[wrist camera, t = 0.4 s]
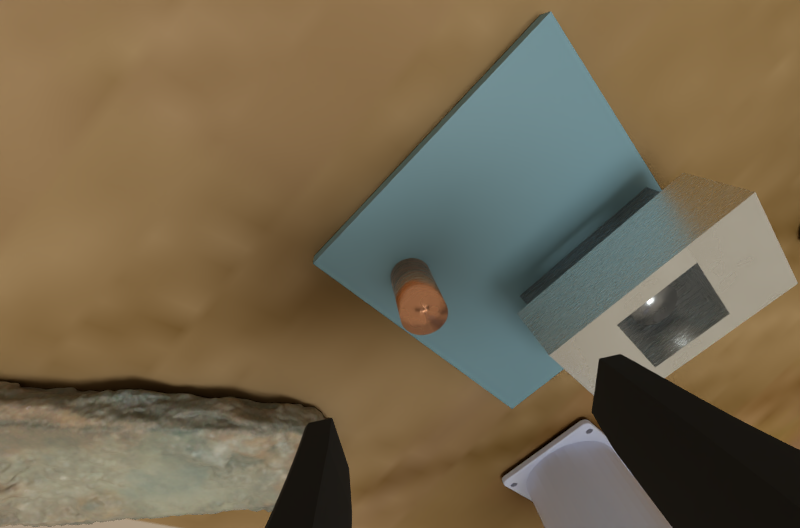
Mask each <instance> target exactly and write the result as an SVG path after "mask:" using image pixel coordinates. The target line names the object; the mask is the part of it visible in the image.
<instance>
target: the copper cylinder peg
mask: <svg viewBox="0 0 800 528" xmlns="http://www.w3.org/2000/svg"><path fill="white" fill-rule="evenodd" d="M390 280H391V284H392V288H393V292H394V296H395V300H396V304H397V308H398V312H399V316H400V319H401V323H402V325H403V327H404V328H405V329H406V330H407V331H408V332H410V333H412V334H416V335H427V334H431V333H433V332H435V331H437V330H438V329H440V328H441V327H442V326H443V325H444V323H445V322H446V320H447V317H448V308H447V305H446V303H445V301H444V299H443V297H442V295H441V292H440V290H439V288H438V286H437V284H436V282H435V280H434V278H433V276H432V273H431V271H430V269H429V267H428V266H427V264H426V263H425V262H423V261H422V260H420V259H416V258H408V259H404V260H402V261H400V262H399V263H397V264H396V265H395V266H394V268H393V269H392V271H391V275H390Z"/></svg>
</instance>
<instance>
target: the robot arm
mask: <svg viewBox="0 0 800 528" xmlns="http://www.w3.org/2000/svg"><path fill="white" fill-rule="evenodd" d="M592 413H593V415H594V417H595V419H596V420H597V422H598V424H599V426H600V427H601V429H602V431H603V432H602V431H601V430H600V429H598V428H597V427H596V426H595V425H594V424H592V423H591V422H590V421H589V420H585V419H584V420H581V421H579V422H578V423H576V424H575V425H574V426H572V427H571V428H569V429H568V430H567V431H565V432H564V433H563V434H561V435H560V436H558V437H557V438H556V439H554V440H553V441H551V442H550V443H549V444H547V445H546V446H545V447H543V448H542V449H540V450H539V451H538V452H536V453H535V454H534V455H532V456H531V457H529V458H528V459H527V460H525V461H524V462H522V463H521V464H520V465H518V466H517V467H516V468H514V469H513V470H511V471H510V472H509V473H507V474H506V475H505V476H503V478H502V481H503V484H504V485H505V486H506V487H508V488H510V489H512V490H513V491H515V492H517V493H519V494H520V495H522V496H524V497H526V498H527V499H529V500H531V501H532V502H533V503H534V505H535V507H536V510H537V512H538V514H539V516H540V518H541V521H542V523H543V525H544V527H545V528H800V450H799V449H796V448H794V447H792V446H790V445H788V444H786V443H784V442H782V441H780V440H778V439H776V438H774V437H772V436H770V435H768V434H766V433H764V432H762V431H760V430H758V429H756V428H754V427H752V426H750V425H748V424H747V423H745V422H743V421H741V420H739V419H737V418H735V417H733V416H731V415H729V414H728V413H726V412H724V411H722V410H720V409H718V408H717V407H715V406H713V405H711V404H709V403H707V402H706V401H704V400H702V399H700V398H698V397H697V396H695V395H693V394H691V393H689V392H688V391H686V390H684V389H682V388H681V387H679V386H677V385H675V384H673V383H672V382H670V381H668V380H666V379H665V378H663V377H661V376H659V375H658V374H656V373H654V372H652V371H651V370H649V369H647V368H645V367H644V366H642V365H640V364H638V363H636V362H635V361H633V360H631V359H629V358H627V357H625V356H624V355H622V354H618V355H613V356H609V357H604V358H600V359H599V362H598V370H597V377H596V384H595V392H594V399H593V406H592ZM265 528H352V506H351V490H350V477H349V467H348V464H347V461H346V458H345V455H344V452H343V449H342V446H341V443H340V440H339V437H338V434H337V431H336V428H335V425H334V422H333V419H332V418H329V419H324V420H319V421H315V422H310V423H308V424H307V425H306V427H305V429H304V432H303V435H302V438H301V441H300V444H299V446H298V449H297V452H296V455H295V457H294V460H293V462H292V465H291V468H290V470H289V473H288V475H287V478H286V480H285V483H284V485H283V487H282V490H281V492H280V494H279V497H278V499H277V501H276V504H275V506H274V508H273V511H272V513H271V515H270V517H269V520H268V522H267V524H266V526H265Z"/></svg>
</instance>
